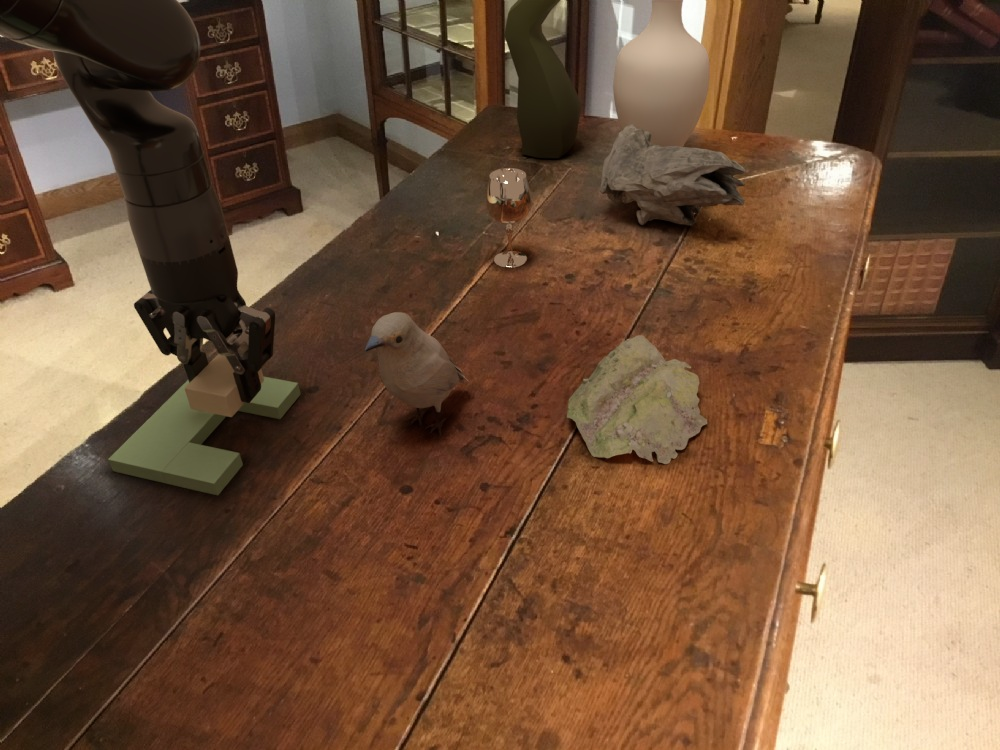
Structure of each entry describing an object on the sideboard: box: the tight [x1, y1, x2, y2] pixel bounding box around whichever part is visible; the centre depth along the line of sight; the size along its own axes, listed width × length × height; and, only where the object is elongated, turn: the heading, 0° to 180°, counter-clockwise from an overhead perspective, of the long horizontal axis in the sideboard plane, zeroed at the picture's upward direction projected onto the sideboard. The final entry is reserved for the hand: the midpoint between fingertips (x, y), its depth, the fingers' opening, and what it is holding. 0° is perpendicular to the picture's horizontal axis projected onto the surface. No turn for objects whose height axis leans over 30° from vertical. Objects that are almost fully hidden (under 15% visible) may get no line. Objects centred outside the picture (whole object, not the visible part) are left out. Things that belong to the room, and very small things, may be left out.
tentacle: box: [503, 0, 583, 159], centre depth 135 cm, size 9×12×30 cm
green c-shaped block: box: [107, 376, 302, 496], centre depth 87 cm, size 16×12×2 cm
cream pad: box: [184, 353, 265, 418], centre depth 83 cm, size 6×5×3 cm
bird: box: [363, 311, 470, 436], centre depth 83 cm, size 5×14×15 cm, turn 145°
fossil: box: [599, 125, 746, 227], centre depth 119 cm, size 20×18×15 cm
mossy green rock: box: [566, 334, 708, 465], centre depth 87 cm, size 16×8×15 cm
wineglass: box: [485, 167, 532, 269], centre depth 111 cm, size 6×6×12 cm
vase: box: [612, 0, 711, 147], centre depth 129 cm, size 14×14×28 cm
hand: (227, 392), depth 83 cm, fingers closed on cream pad, 4 cm apart
